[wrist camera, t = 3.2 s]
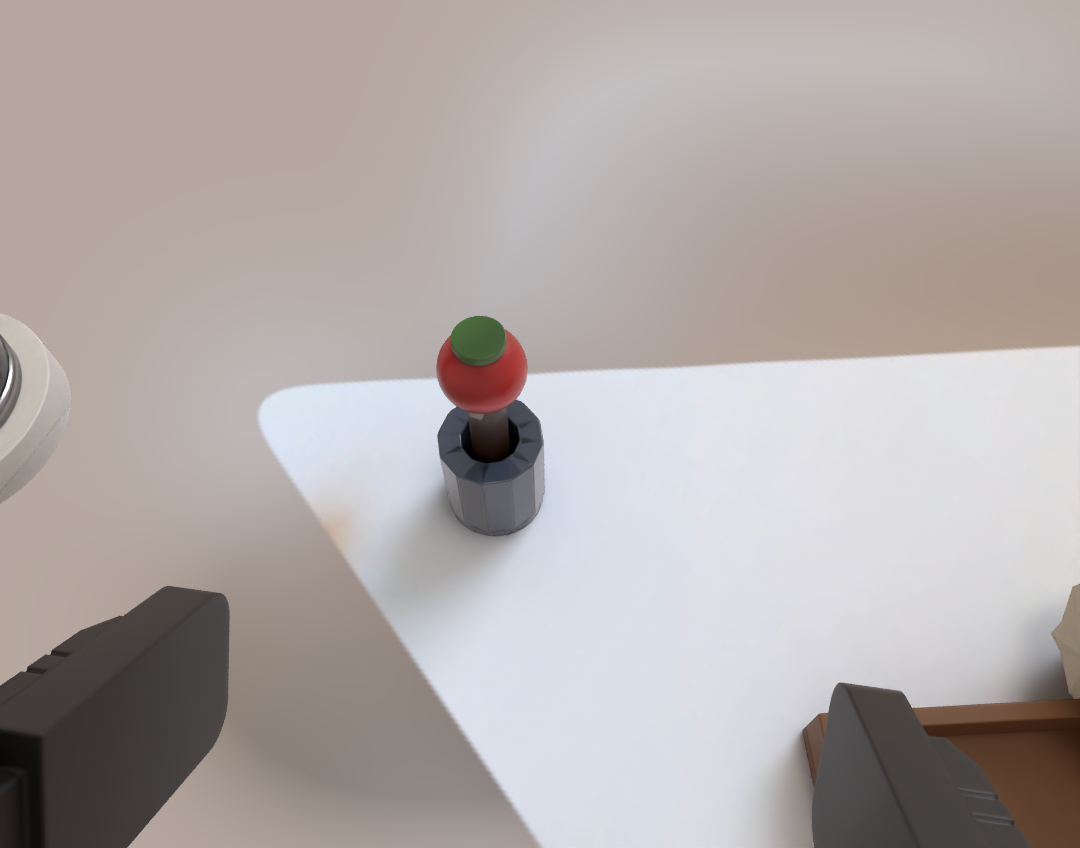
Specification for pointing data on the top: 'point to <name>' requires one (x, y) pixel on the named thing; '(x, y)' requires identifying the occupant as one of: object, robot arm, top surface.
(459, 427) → the holder
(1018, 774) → the tray
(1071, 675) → the faceted club
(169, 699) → the robot arm
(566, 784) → the top surface
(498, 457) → the red ball joystick
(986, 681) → the top surface
